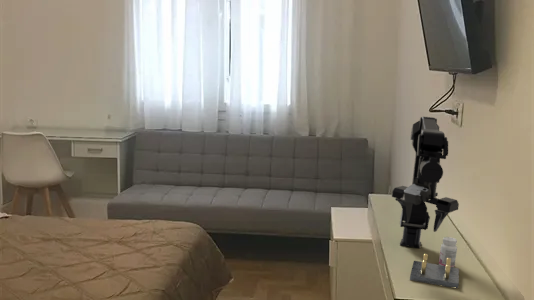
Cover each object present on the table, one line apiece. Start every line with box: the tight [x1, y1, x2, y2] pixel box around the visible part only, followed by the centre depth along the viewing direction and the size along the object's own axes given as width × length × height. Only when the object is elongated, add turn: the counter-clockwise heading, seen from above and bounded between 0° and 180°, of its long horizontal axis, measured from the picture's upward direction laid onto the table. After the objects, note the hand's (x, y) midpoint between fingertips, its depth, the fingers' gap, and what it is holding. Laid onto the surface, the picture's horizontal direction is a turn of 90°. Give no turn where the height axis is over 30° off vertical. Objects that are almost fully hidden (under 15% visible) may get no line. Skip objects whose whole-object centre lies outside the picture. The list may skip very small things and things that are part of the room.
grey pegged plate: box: [409, 253, 460, 289], centre depth 170 cm, size 13×13×5 cm
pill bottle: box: [438, 236, 458, 268], centre depth 180 cm, size 5×5×8 cm
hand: (420, 227), depth 173 cm, fingers open, 9 cm apart
